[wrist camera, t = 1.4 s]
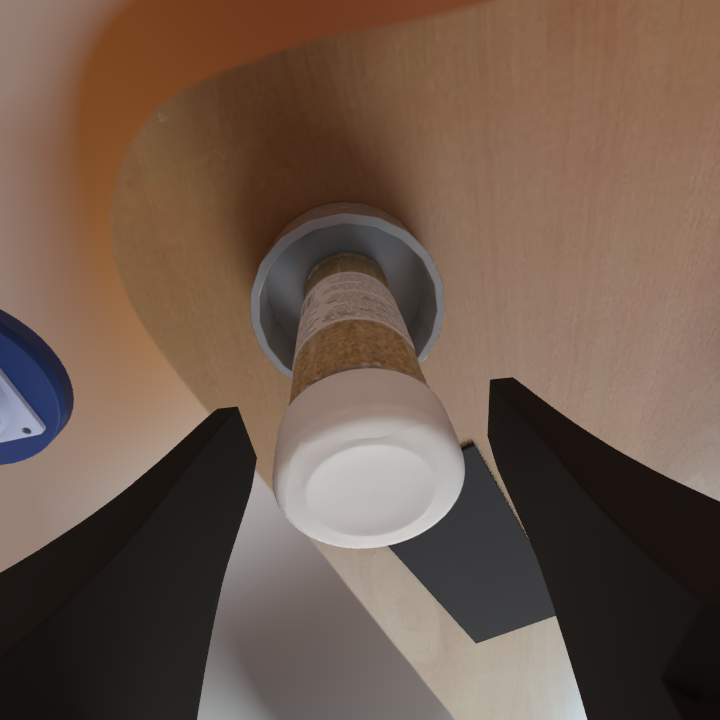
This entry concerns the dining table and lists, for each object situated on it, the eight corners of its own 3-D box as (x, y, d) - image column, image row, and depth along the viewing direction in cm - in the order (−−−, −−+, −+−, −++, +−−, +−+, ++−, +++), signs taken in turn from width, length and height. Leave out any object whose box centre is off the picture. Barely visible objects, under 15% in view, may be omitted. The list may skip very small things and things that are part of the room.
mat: (348, 499, 29) (349, 503, 29) (473, 442, 27) (474, 445, 27) (475, 640, 41) (476, 643, 40) (567, 607, 39) (568, 611, 39)
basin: (289, 374, 23) (283, 410, 20) (237, 224, 19) (220, 240, 16) (435, 344, 23) (451, 375, 20) (416, 183, 18) (434, 192, 15)
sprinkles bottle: (359, 344, 22) (395, 575, 10) (287, 306, 21) (234, 524, 9) (406, 277, 20) (512, 464, 9) (330, 230, 19) (335, 379, 7)
